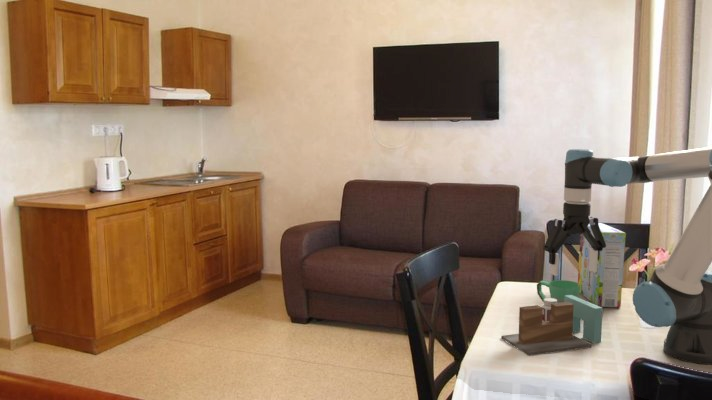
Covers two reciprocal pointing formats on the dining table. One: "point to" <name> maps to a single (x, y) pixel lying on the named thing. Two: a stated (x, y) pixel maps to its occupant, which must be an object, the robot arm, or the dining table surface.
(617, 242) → the snack box
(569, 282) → the mug
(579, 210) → the robot arm
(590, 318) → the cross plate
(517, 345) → the slotted stand
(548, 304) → the pill bottle
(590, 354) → the dining table surface
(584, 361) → the dining table surface
